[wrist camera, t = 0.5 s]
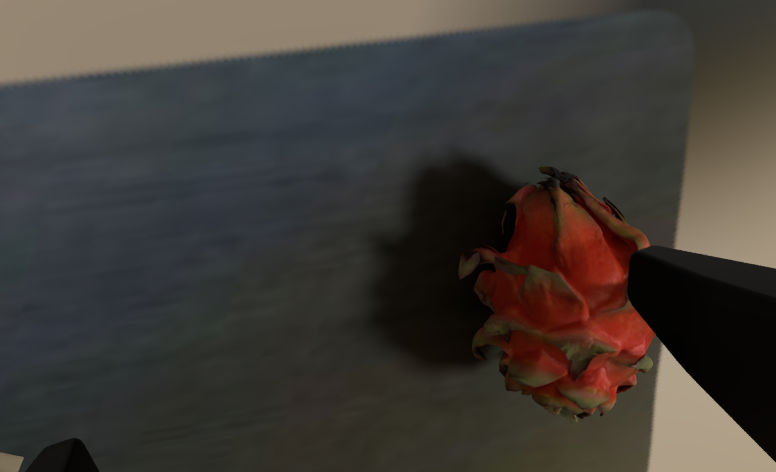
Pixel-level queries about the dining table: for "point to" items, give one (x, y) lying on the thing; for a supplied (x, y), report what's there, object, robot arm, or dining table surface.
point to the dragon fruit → (563, 298)
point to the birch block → (10, 462)
